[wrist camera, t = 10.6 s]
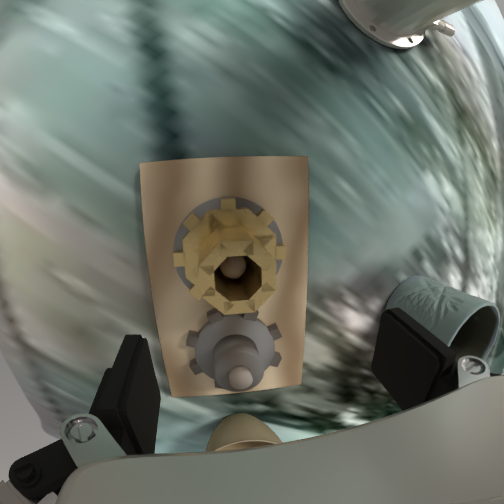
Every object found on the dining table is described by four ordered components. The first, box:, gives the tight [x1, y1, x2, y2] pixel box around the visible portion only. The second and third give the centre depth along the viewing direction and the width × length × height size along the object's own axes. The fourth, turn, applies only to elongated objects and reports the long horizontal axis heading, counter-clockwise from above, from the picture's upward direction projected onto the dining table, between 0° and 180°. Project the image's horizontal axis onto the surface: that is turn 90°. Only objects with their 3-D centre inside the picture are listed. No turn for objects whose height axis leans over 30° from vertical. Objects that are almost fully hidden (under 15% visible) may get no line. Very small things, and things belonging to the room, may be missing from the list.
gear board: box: [140, 156, 309, 397], centre depth 26 cm, size 15×25×7 cm, turn 2°
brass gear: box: [173, 198, 286, 315], centre depth 23 cm, size 10×10×7 cm
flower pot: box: [206, 413, 282, 452], centre depth 31 cm, size 10×10×7 cm
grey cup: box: [385, 275, 500, 363], centre depth 28 cm, size 10×10×12 cm
